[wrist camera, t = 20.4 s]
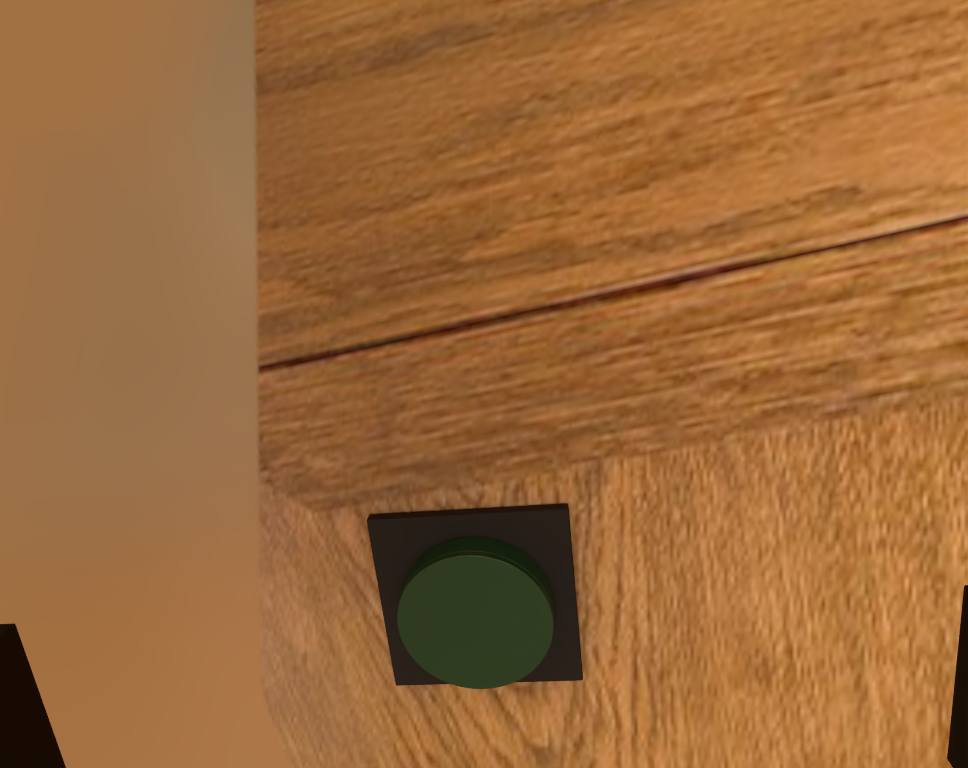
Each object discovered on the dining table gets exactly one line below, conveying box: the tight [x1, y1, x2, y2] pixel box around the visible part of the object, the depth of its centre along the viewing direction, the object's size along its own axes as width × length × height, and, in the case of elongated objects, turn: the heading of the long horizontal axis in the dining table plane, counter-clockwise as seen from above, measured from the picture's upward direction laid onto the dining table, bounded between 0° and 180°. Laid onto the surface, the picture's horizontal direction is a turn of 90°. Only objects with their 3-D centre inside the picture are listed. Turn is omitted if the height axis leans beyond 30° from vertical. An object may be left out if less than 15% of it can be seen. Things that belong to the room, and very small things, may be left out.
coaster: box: [367, 504, 583, 685], centre depth 39 cm, size 10×10×1 cm
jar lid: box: [397, 537, 554, 689], centre depth 38 cm, size 8×8×2 cm
